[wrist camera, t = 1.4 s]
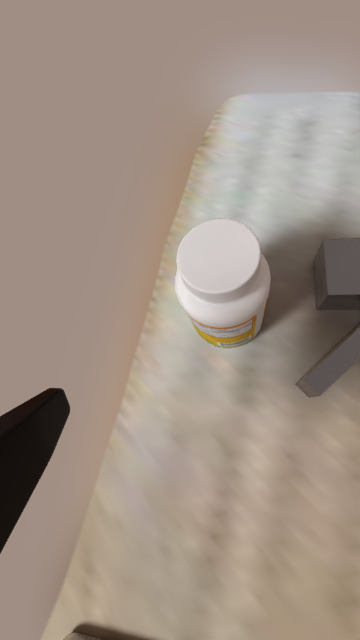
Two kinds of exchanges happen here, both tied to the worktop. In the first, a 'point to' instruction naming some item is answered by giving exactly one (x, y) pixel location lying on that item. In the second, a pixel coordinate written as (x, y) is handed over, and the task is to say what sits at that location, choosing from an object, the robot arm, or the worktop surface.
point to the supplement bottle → (223, 282)
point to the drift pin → (79, 637)
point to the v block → (335, 294)
